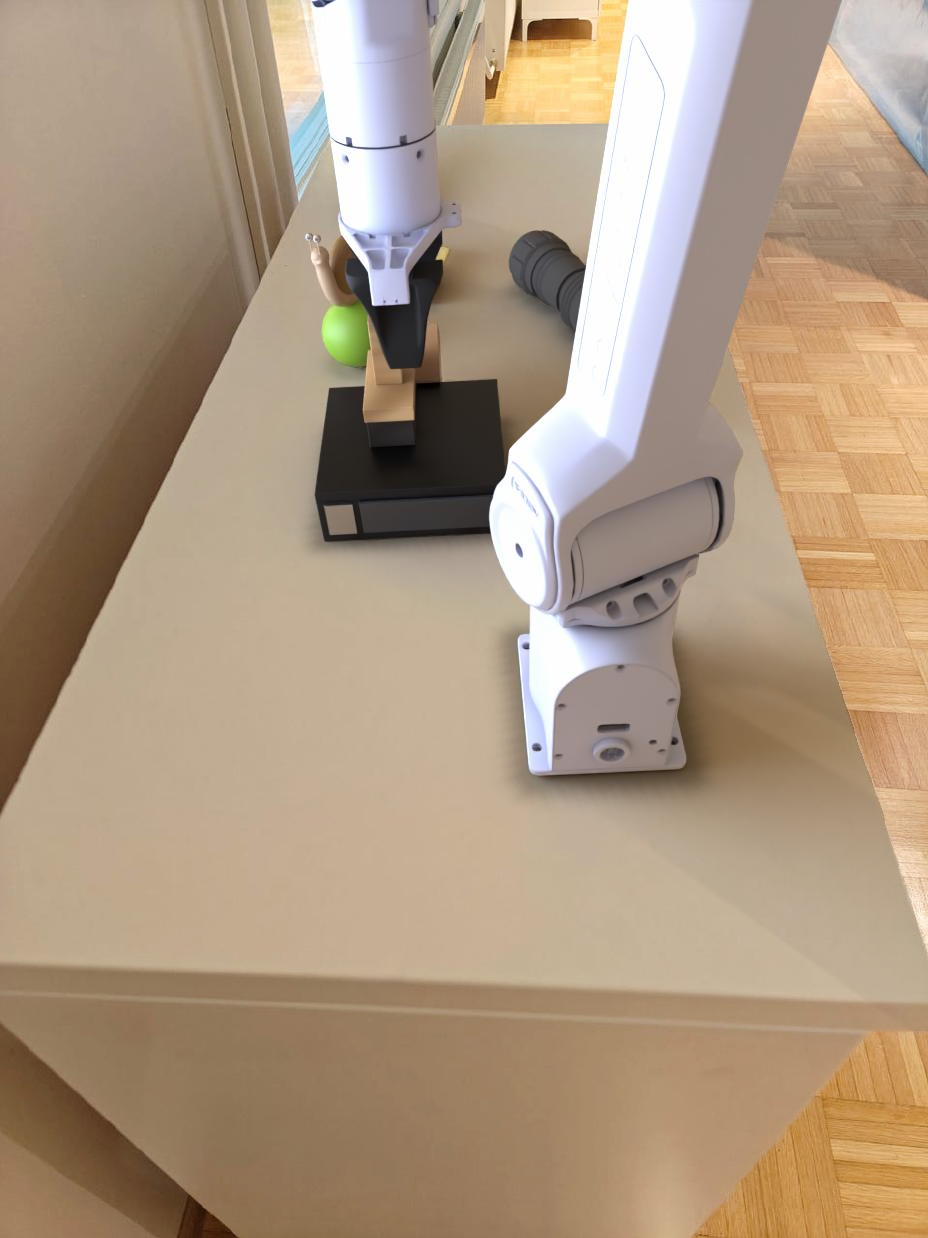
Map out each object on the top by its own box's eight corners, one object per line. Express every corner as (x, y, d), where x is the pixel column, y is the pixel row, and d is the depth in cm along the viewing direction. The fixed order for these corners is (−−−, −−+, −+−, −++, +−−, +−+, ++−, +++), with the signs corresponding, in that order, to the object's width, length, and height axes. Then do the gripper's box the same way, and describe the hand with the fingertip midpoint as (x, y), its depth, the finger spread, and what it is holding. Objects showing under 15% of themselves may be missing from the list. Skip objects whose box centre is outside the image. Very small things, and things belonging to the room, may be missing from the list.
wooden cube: (440, 380, 64) (437, 321, 64) (383, 383, 65) (380, 324, 64) (442, 386, 68) (439, 331, 68) (389, 389, 69) (385, 334, 68)
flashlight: (502, 290, 82) (501, 230, 78) (555, 275, 84) (556, 216, 80) (593, 369, 72) (597, 305, 69) (650, 351, 74) (657, 288, 70)
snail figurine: (307, 377, 74) (278, 229, 65) (350, 339, 77) (328, 194, 69) (364, 392, 72) (342, 241, 63) (405, 352, 76) (390, 205, 67)
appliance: (507, 535, 59) (507, 486, 57) (323, 544, 60) (313, 496, 57) (498, 425, 68) (497, 378, 65) (337, 434, 68) (328, 387, 65)
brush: (368, 448, 60) (353, 345, 54) (373, 387, 65) (359, 287, 59) (417, 446, 60) (407, 342, 54) (418, 385, 65) (408, 284, 59)
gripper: (460, 178, 44) (471, 416, 54) (454, 81, 54) (464, 297, 64) (314, 186, 44) (352, 423, 54) (335, 88, 54) (364, 303, 64)
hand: (405, 355), depth 59 cm, fingers closed on brush, 2 cm apart
